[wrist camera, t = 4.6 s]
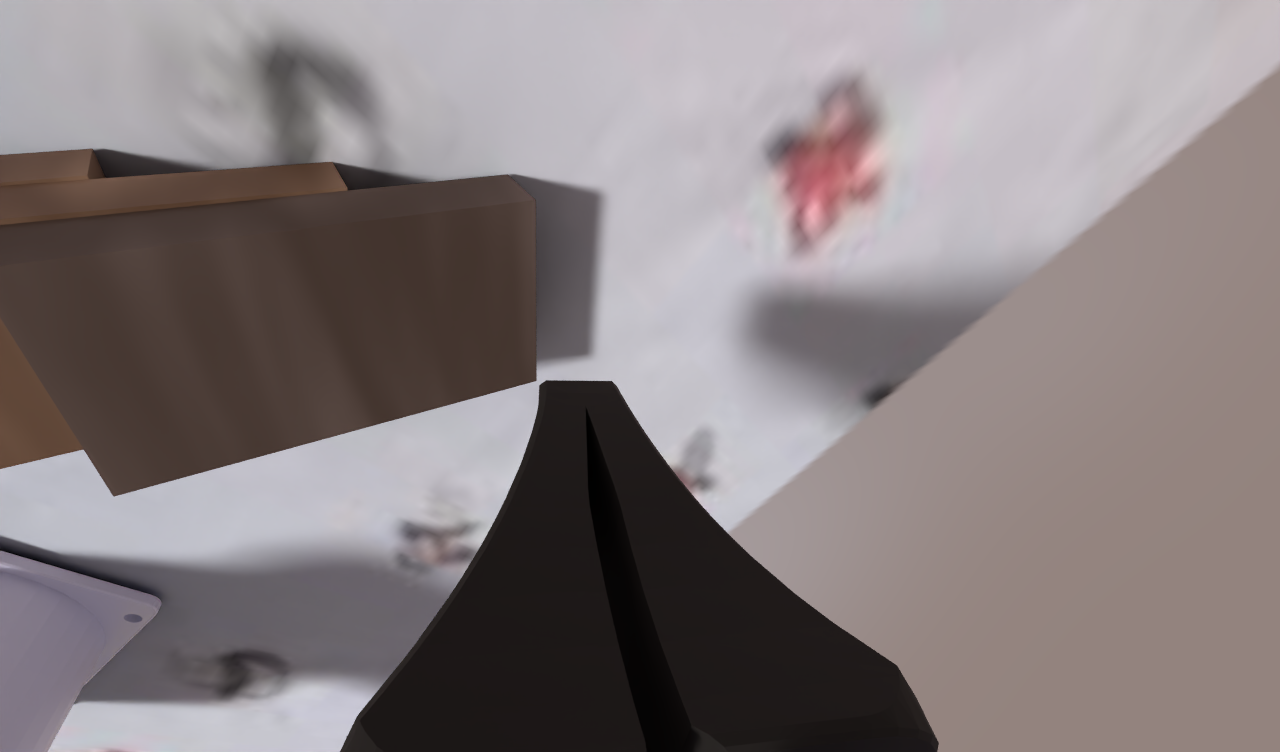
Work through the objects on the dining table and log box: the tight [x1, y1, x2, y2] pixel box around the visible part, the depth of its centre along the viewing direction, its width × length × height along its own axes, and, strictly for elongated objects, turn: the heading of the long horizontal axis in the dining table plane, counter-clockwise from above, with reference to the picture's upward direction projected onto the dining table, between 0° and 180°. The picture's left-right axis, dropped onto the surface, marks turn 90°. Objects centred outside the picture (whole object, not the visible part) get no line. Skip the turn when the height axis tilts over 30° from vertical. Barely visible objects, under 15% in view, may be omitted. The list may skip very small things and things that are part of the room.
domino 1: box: [0, 162, 348, 469], centre depth 12 cm, size 2×5×9 cm
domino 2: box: [0, 175, 536, 496], centre depth 13 cm, size 2×5×9 cm
